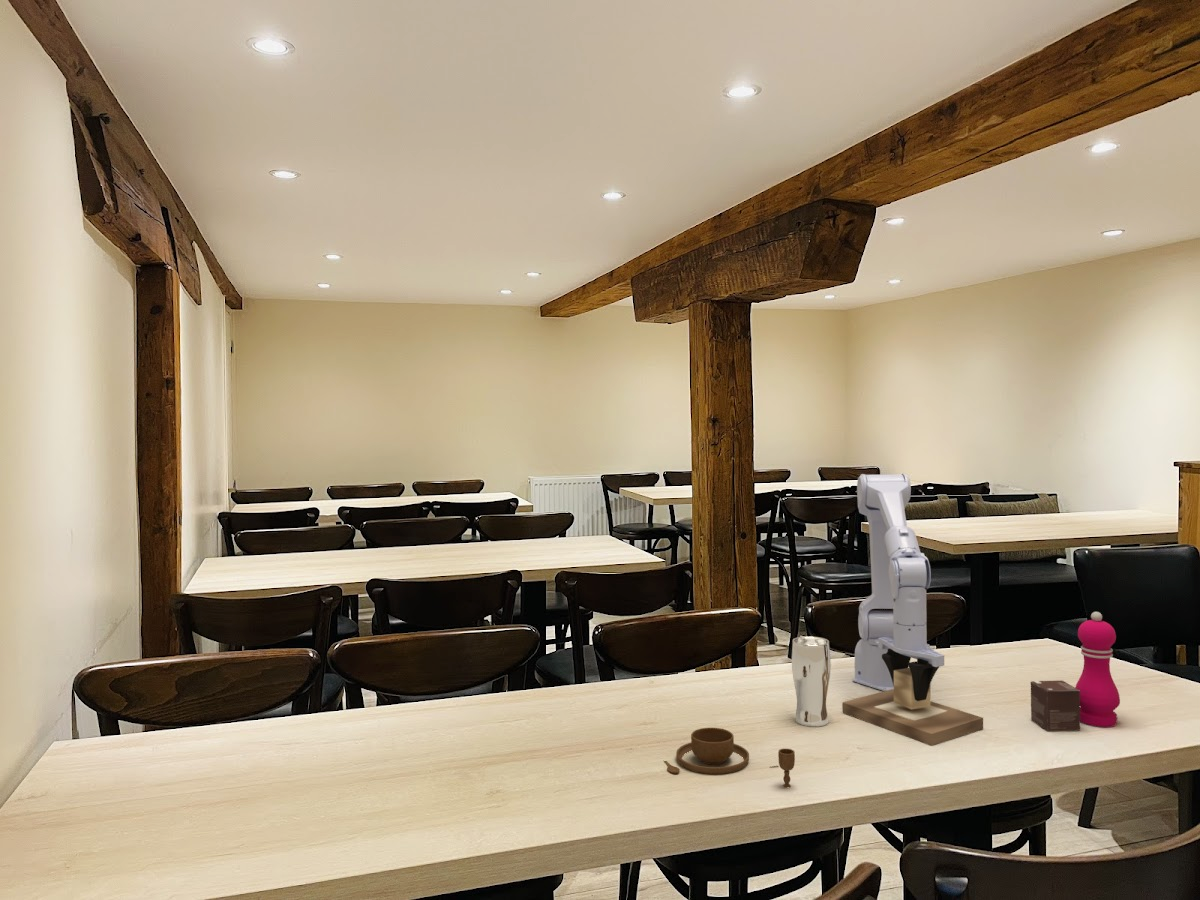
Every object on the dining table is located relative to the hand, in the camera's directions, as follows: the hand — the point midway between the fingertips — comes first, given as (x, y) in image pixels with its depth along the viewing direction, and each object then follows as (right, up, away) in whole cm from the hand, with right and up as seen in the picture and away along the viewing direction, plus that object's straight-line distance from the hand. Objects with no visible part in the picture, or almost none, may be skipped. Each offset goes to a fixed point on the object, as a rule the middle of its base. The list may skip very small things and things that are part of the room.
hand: (910, 695), depth 158 cm
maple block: (0, -2, 0) cm, 2 cm away
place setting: (-37, -7, -20) cm, 43 cm away
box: (+25, -5, -4) cm, 25 cm away
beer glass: (-18, -5, +1) cm, 19 cm away
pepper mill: (+33, -4, -2) cm, 33 cm away
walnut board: (0, -5, 0) cm, 5 cm away
